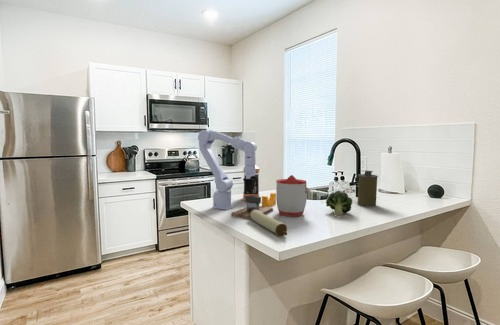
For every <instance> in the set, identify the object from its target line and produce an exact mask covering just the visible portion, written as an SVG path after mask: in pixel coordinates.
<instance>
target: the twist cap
mask: <svg viewBox="0 0 500 325" xmlns="http://www.w3.org/2000/svg"><path fill="white" fill-rule="evenodd" d="M245 203H246V207H247V211H251V210H253V209H255V210H259V206H260V204H262V196H259V197H257V196H250V195H246V201H245Z"/></svg>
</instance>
